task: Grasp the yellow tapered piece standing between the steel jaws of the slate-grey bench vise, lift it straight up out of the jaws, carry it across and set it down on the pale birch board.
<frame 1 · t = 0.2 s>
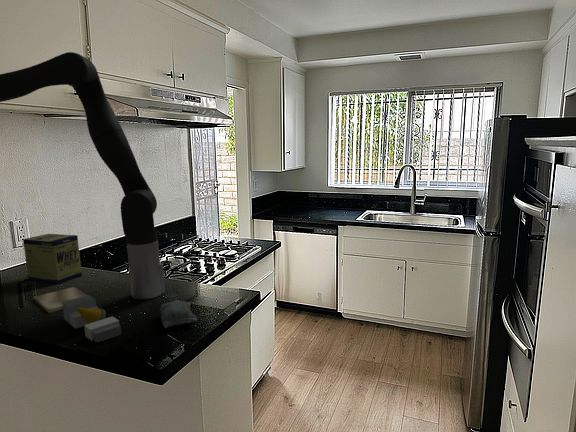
yellow tapered piece: (94, 328, 107), resting in vise
protein box: (55, 278, 152), on the worktop
packaged food: (178, 322, 110), on the worktop
birch board: (62, 300, 128), on the worktop
vise: (94, 327, 107), on the worktop
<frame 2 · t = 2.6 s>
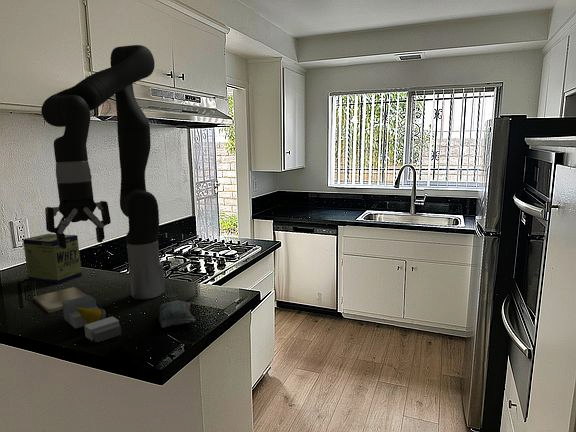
hand: (82, 245, 103), 22 cm above the worktop, fingers open, 8 cm apart
nothing on the worktop moved.
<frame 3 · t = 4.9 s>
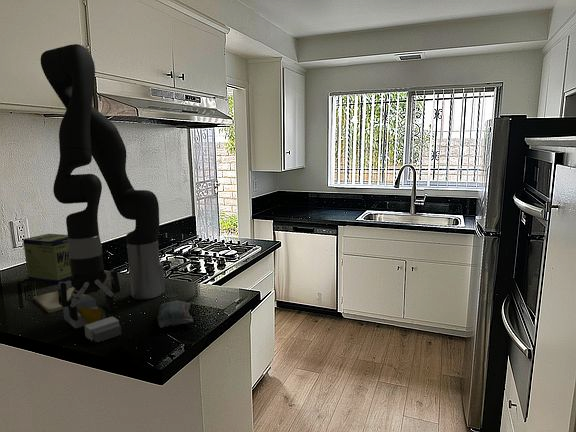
hand: (92, 314, 106), 4 cm above the worktop, fingers open, 8 cm apart
yellow tapered piece: (94, 328, 107), resting in vise, touching gripper
everything else where it was.
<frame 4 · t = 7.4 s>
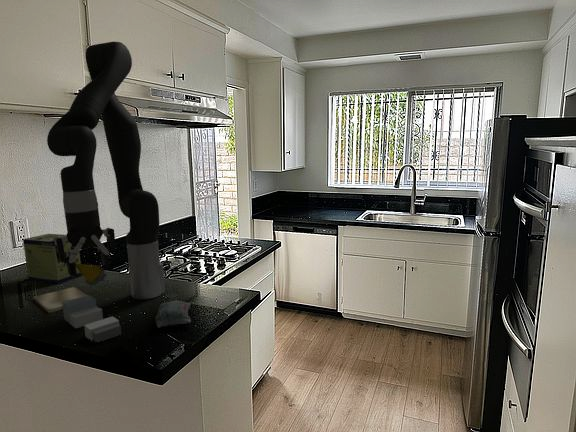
hand: (90, 272, 105), 15 cm above the worktop, fingers closed on yellow tapered piece, 7 cm apart
yellow tapered piece: (93, 285, 106), point 11 cm above the worktop, touching gripper
everything else where it was.
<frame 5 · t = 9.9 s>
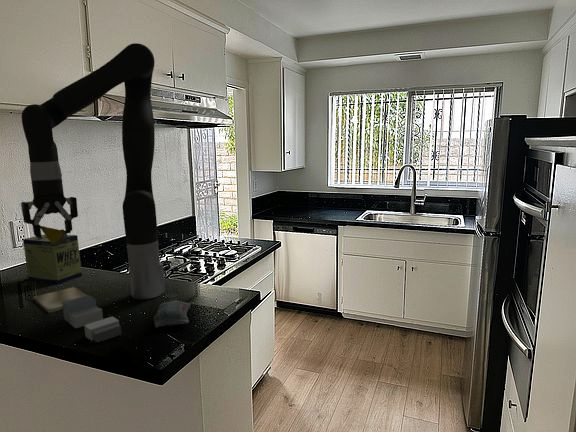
hand: (53, 235, 119), 22 cm above the worktop, fingers closed on yellow tapered piece, 7 cm apart
yellow tapered piece: (57, 247, 120), point 18 cm above the worktop, touching gripper
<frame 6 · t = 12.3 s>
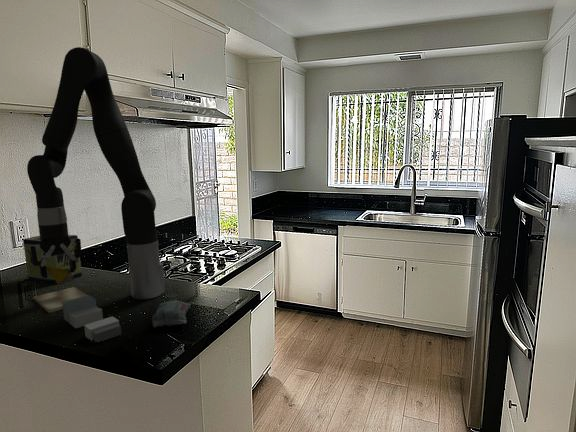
hand: (59, 274, 126), 8 cm above the worktop, fingers closed on yellow tapered piece, 7 cm apart
yellow tapered piece: (62, 285, 128), point 5 cm above the worktop, touching gripper
when the fingers open (5 cm above the worktop, at t = 14.3 s): yellow tapered piece stays where it is, resting on birch board.
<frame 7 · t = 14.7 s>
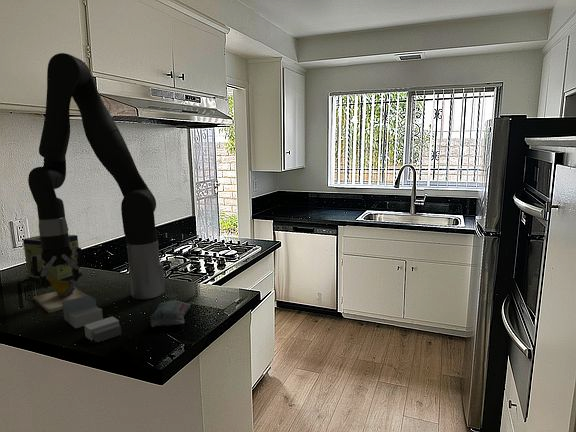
hand: (60, 284, 127), 5 cm above the worktop, fingers open, 8 cm apart
yellow tapered piece: (63, 297, 128), point 1 cm above the worktop, touching birch board
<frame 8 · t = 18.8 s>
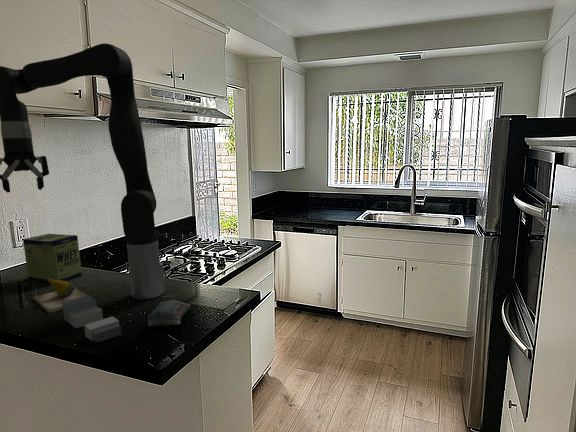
hand: (24, 190, 127), 34 cm above the worktop, fingers open, 8 cm apart
at the end: yellow tapered piece inside the target area on the birch board (0.5 cm from its centre), point 0.8 cm above the birch board's base; yellow tapered piece touching birch board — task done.
